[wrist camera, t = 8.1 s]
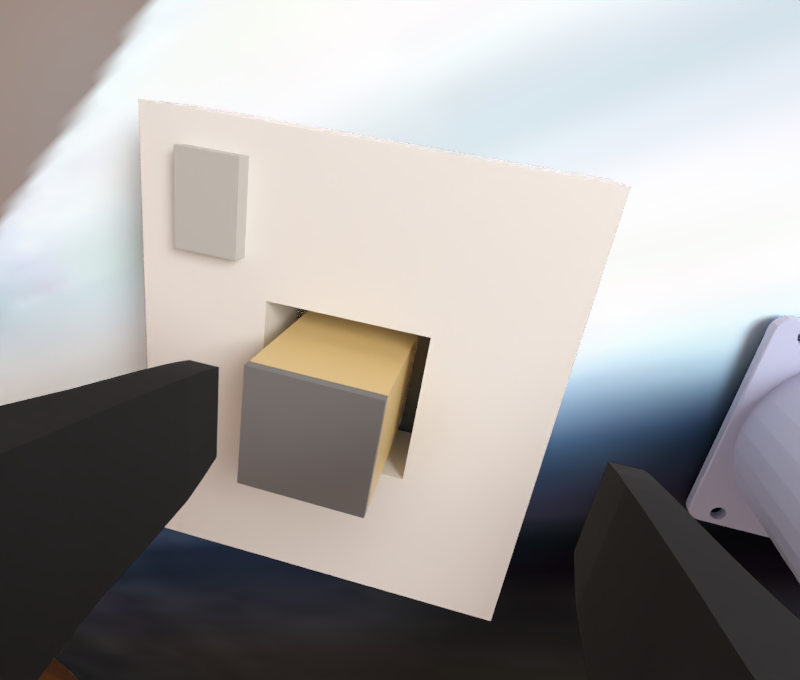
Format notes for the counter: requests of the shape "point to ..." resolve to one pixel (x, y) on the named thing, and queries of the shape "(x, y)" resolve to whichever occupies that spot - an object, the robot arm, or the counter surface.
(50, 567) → the robot arm
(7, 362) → the counter surface
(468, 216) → the socket plate
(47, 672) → the food container
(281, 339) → the plug
